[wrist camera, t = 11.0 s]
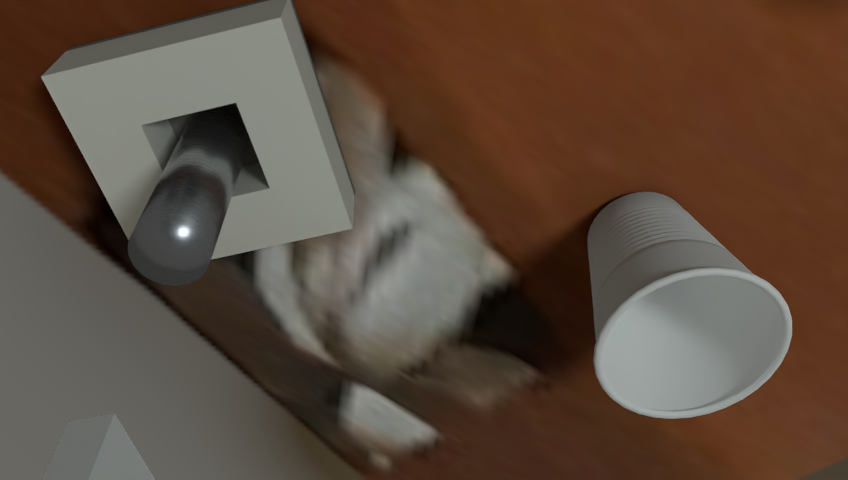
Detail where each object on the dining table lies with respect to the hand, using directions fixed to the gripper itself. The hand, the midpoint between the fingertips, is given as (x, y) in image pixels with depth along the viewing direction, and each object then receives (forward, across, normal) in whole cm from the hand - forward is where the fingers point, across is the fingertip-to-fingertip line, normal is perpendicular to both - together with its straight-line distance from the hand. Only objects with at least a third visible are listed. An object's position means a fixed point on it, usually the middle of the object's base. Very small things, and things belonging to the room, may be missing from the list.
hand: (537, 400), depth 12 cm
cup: (+31, +9, -20) cm, 38 cm away
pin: (+31, -14, -7) cm, 34 cm away
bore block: (+31, -14, -7) cm, 35 cm away
